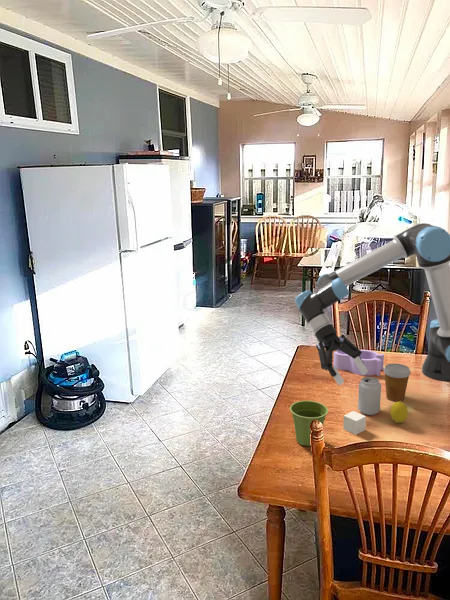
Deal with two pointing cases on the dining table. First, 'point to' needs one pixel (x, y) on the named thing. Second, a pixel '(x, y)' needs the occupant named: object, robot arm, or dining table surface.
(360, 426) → the cream wooden block
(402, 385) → the disposable coffee cup
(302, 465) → the dining table surface
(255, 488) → the dining table surface
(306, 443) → the plant pot
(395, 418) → the lemon
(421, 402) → the dining table surface
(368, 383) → the can
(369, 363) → the clip
